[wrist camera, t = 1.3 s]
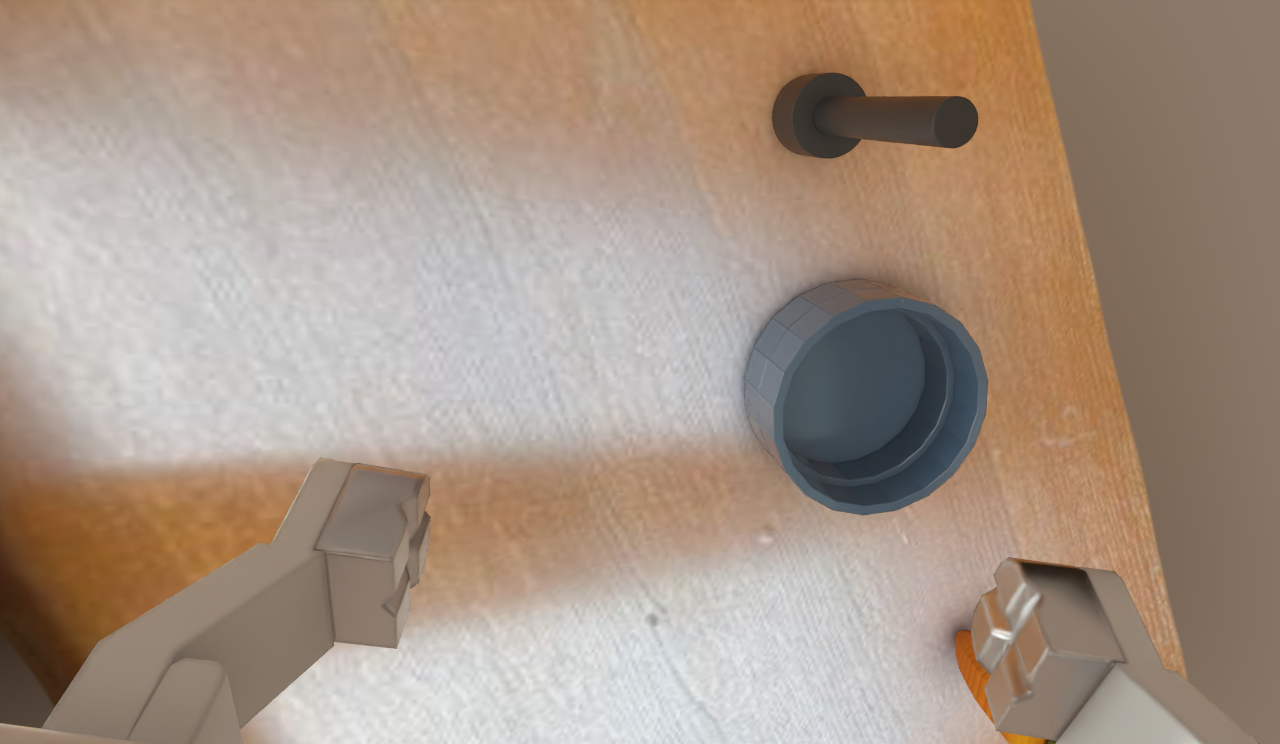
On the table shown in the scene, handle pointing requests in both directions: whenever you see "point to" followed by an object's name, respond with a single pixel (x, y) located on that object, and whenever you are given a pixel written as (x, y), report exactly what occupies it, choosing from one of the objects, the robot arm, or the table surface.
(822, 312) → the bowl
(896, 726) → the table surface
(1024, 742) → the carrot
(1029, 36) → the table surface
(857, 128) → the black rod with base
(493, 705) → the table surface
